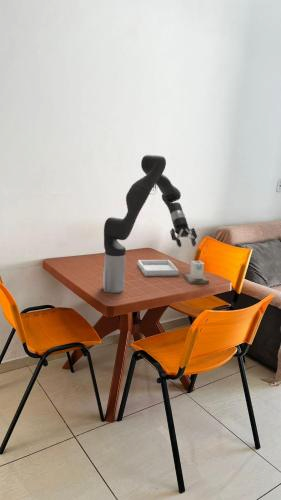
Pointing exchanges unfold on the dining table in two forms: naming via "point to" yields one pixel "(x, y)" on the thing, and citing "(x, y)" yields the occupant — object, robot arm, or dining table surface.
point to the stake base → (195, 281)
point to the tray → (157, 268)
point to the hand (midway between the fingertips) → (187, 246)
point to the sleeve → (196, 269)
